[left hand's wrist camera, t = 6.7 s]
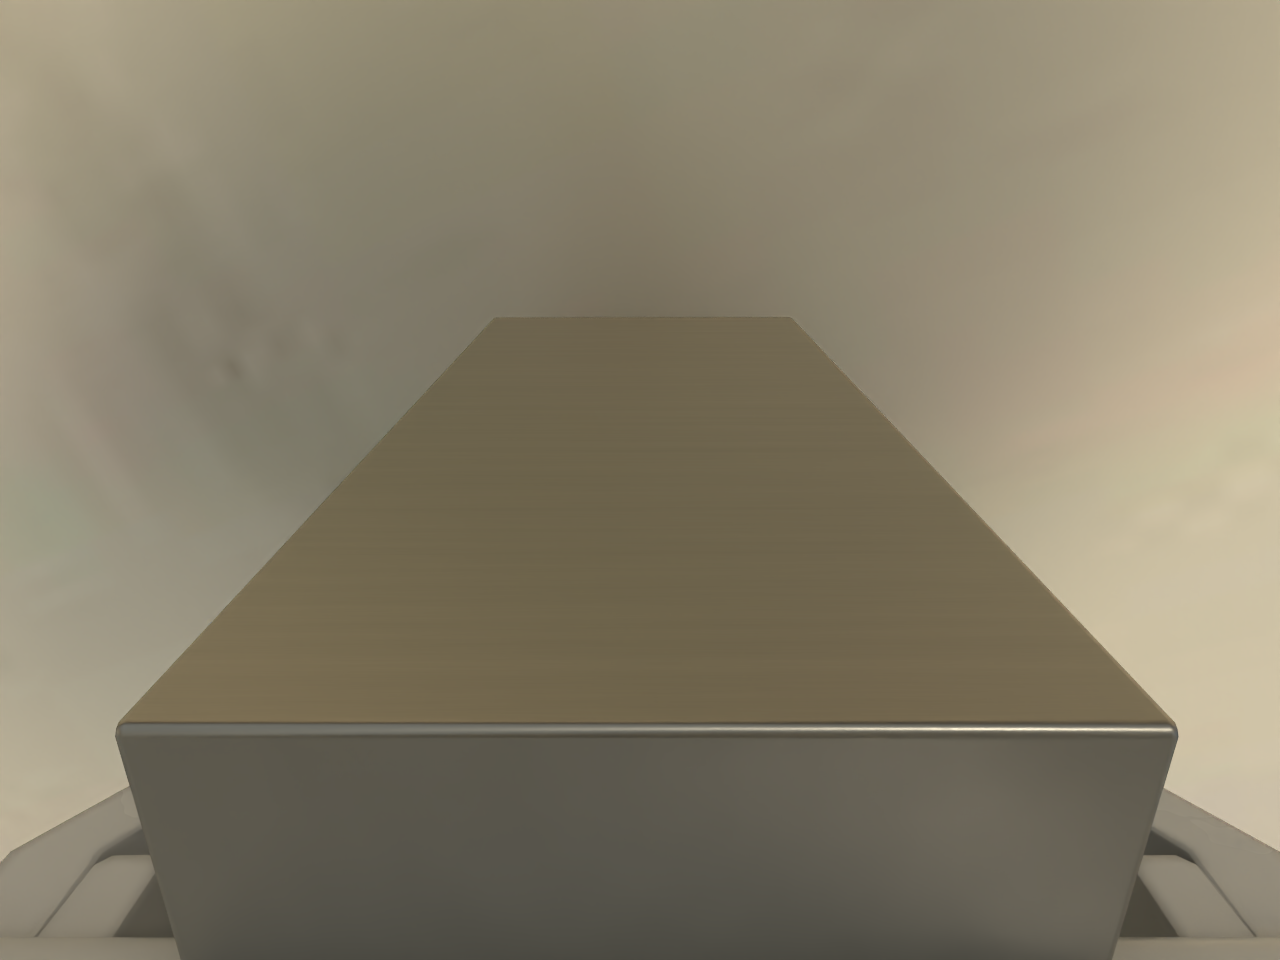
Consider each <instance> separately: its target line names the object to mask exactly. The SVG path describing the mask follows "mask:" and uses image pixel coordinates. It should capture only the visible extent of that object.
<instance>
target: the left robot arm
mask: <svg viewBox="0 0 1280 960" xmlns="http://www.w3.org/2000/svg"><path fill="white" fill-rule="evenodd" d="M0 960H181V959H180V956H179V952H178V949H177V945H176V942H175V939H174V935H173V932H172V928H171V925H170V921H169V918H168V915H167V911H166V908H165V904H164V901H163V898H162V894H161V891H160V887H159V884H158V881H157V877H156V874H155V870H154V867H153V863H152V860H151V857H150V853H149V850H148V846H147V843H146V840H145V836H144V833H143V829H142V826H141V822H140V819H139V816H138V812H137V809H136V805H135V802H134V799H133V795H132V792H131V788H130V786H129V787H127V788H125V789H123V790H121V791H119V792H118V793H116V794H114V795H112V796H110V797H109V798H107V799H105V800H103V801H101V802H100V803H98V804H96V805H94V806H92V807H91V808H89V809H87V810H85V811H83V812H81V813H80V814H78V815H76V816H74V817H72V818H71V819H69V820H67V821H65V822H63V823H62V824H60V825H58V826H56V827H54V828H53V829H51V830H49V831H47V832H45V833H44V834H42V835H40V836H38V837H36V838H34V839H33V840H31V841H29V842H27V843H25V844H24V845H22V846H20V847H18V848H16V849H15V850H13V851H11V852H10V853H9V854H8V855H7V856H6V857H5V859H4V860H3V861H2V862H1V863H0ZM1112 960H1280V852H1279V851H1277V850H1275V849H1274V848H1272V847H1270V846H1268V845H1266V844H1265V843H1263V842H1261V841H1259V840H1257V839H1255V838H1254V837H1252V836H1250V835H1248V834H1246V833H1245V832H1243V831H1241V830H1239V829H1237V828H1235V827H1234V826H1232V825H1230V824H1228V823H1226V822H1224V821H1223V820H1221V819H1219V818H1217V817H1215V816H1214V815H1212V814H1210V813H1208V812H1206V811H1204V810H1203V809H1201V808H1199V807H1197V806H1195V805H1194V804H1192V803H1190V802H1188V801H1186V800H1184V799H1183V798H1181V797H1179V796H1177V795H1175V794H1174V793H1172V792H1170V791H1168V790H1166V789H1164V788H1163V790H1162V794H1161V797H1160V800H1159V804H1158V807H1157V810H1156V814H1155V817H1154V820H1153V824H1152V827H1151V831H1150V834H1149V837H1148V841H1147V844H1146V847H1145V851H1144V854H1143V857H1142V861H1141V864H1140V867H1139V871H1138V874H1137V878H1136V881H1135V884H1134V888H1133V891H1132V894H1131V898H1130V901H1129V904H1128V908H1127V911H1126V914H1125V918H1124V921H1123V925H1122V928H1121V931H1120V935H1119V938H1118V941H1117V945H1116V948H1115V951H1114V955H1113V958H1112Z"/></svg>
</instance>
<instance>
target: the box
mask: <svg viewBox="0 0 1280 960" xmlns="http://www.w3.org/2000/svg"><path fill="white" fill-rule="evenodd" d="M115 737H116V741H117V744H118V747H119V751H120V754H121V758H122V761H123V764H124V768H125V771H126V775H127V778H128V782H129V785H130V788H131V792H132V795H133V799H134V802H135V805H136V809H137V812H138V816H139V819H140V822H141V826H142V829H143V833H144V836H145V840H146V843H147V846H148V850H149V853H150V857H151V860H152V863H153V867H154V870H155V874H156V877H157V881H158V884H159V887H160V891H161V894H162V898H163V901H164V904H165V908H166V911H167V915H168V918H169V921H170V925H171V928H172V932H173V935H174V939H175V942H176V945H177V949H178V952H179V956H180V959H181V960H1112V958H1113V955H1114V951H1115V948H1116V945H1117V941H1118V938H1119V935H1120V931H1121V928H1122V925H1123V921H1124V918H1125V914H1126V911H1127V908H1128V904H1129V901H1130V898H1131V894H1132V891H1133V888H1134V884H1135V881H1136V878H1137V874H1138V871H1139V867H1140V864H1141V861H1142V857H1143V854H1144V851H1145V847H1146V844H1147V841H1148V837H1149V834H1150V831H1151V827H1152V824H1153V820H1154V817H1155V814H1156V810H1157V807H1158V804H1159V800H1160V797H1161V794H1162V790H1163V787H1164V784H1165V780H1166V777H1167V773H1168V770H1169V767H1170V763H1171V760H1172V757H1173V753H1174V750H1175V747H1176V743H1177V740H1178V730H1177V727H1176V724H1175V722H1174V721H1173V720H1172V719H1171V718H1170V717H1169V716H1168V715H1167V714H1166V713H1165V712H1164V711H1163V710H1162V709H1161V708H1160V706H1159V705H1158V704H1157V703H1156V702H1155V701H1154V700H1153V699H1152V698H1151V697H1150V696H1149V695H1148V694H1147V693H1146V692H1145V691H1144V690H1143V689H1142V687H1141V686H1140V685H1139V684H1138V683H1137V682H1136V681H1135V680H1134V679H1133V678H1132V677H1131V676H1130V675H1129V674H1128V673H1127V672H1126V671H1125V669H1124V668H1123V667H1122V666H1121V665H1120V664H1119V663H1118V662H1117V661H1116V660H1115V659H1114V658H1113V657H1112V656H1111V655H1110V654H1109V653H1108V652H1107V650H1106V649H1105V648H1104V647H1103V646H1102V645H1101V644H1100V643H1099V642H1098V641H1097V640H1096V639H1095V638H1094V637H1093V636H1092V635H1091V634H1090V633H1089V631H1088V630H1087V629H1086V628H1085V627H1084V626H1083V625H1082V624H1081V623H1080V622H1079V621H1078V620H1077V619H1076V618H1075V617H1074V616H1073V615H1072V614H1071V612H1070V611H1069V610H1068V609H1067V608H1066V607H1065V606H1064V605H1063V604H1062V603H1061V602H1060V601H1059V600H1058V599H1057V598H1056V597H1055V596H1054V595H1053V593H1052V592H1051V591H1050V590H1049V589H1048V588H1047V587H1046V586H1045V585H1044V584H1043V583H1042V582H1041V581H1040V580H1039V579H1038V578H1037V577H1036V576H1035V574H1034V573H1033V572H1032V571H1031V570H1030V569H1029V568H1028V567H1027V566H1026V565H1025V564H1024V563H1023V562H1022V561H1021V560H1020V559H1019V558H1018V557H1017V555H1016V554H1015V553H1014V552H1013V551H1012V550H1011V549H1010V548H1009V547H1008V546H1007V545H1006V544H1005V543H1004V542H1003V541H1002V540H1001V539H1000V538H999V536H998V535H997V534H996V533H995V532H994V531H993V530H992V529H991V528H990V527H989V526H988V525H987V524H986V523H985V522H984V521H983V520H982V519H981V517H980V516H979V515H978V514H977V513H976V512H975V511H974V510H973V509H972V508H971V507H970V506H969V505H968V504H967V503H966V502H965V501H964V500H963V498H962V497H961V496H960V495H959V494H958V493H957V492H956V491H955V490H954V489H953V488H952V487H951V486H950V485H949V484H948V483H947V482H946V481H945V479H944V478H943V477H942V476H941V475H940V474H939V473H938V472H937V471H936V470H935V469H934V468H933V467H932V466H931V465H930V464H929V463H928V462H927V460H926V459H925V458H924V457H923V456H922V455H921V454H920V453H919V452H918V451H917V450H916V449H915V448H914V447H913V446H912V445H911V444H910V443H909V441H908V440H907V439H906V438H905V437H904V436H903V435H902V434H901V433H900V432H899V431H898V430H897V429H896V428H895V427H894V426H893V425H892V424H891V422H890V421H889V420H888V419H887V418H886V417H885V416H884V415H883V414H882V413H881V412H880V411H879V410H878V409H877V408H876V407H875V406H874V405H873V403H872V402H871V401H870V400H869V399H868V398H867V397H866V396H865V395H864V394H863V393H862V392H861V391H860V390H859V389H858V388H857V387H856V386H855V384H854V383H853V382H852V381H851V380H850V379H849V378H848V377H847V376H846V375H845V374H844V373H843V372H842V371H841V370H840V369H839V368H838V367H837V365H836V364H835V363H834V362H833V361H832V360H831V359H830V358H829V357H828V356H827V355H826V354H825V353H824V352H823V351H822V350H821V349H820V348H819V346H818V345H817V344H816V343H815V342H814V341H813V340H812V339H811V338H810V337H809V336H808V335H807V334H806V333H805V332H804V331H803V330H802V329H801V327H800V326H799V325H798V324H797V323H796V322H795V321H794V320H793V319H792V318H790V317H595V318H494V319H493V320H492V321H491V322H490V323H489V325H488V326H487V327H486V328H485V329H484V330H483V331H482V332H481V333H480V334H479V335H478V336H477V337H476V339H475V340H474V341H473V342H472V343H471V344H470V345H469V346H468V347H467V348H466V349H465V350H464V351H463V353H462V354H461V355H460V356H459V357H458V358H457V359H456V360H455V361H454V362H453V363H452V364H451V365H450V367H449V368H448V369H447V370H446V371H445V372H444V373H443V374H442V375H441V376H440V377H439V378H438V379H437V380H436V382H435V383H434V384H433V385H432V386H431V387H430V388H429V389H428V390H427V391H426V392H425V393H424V394H423V396H422V397H421V398H420V399H419V400H418V401H417V402H416V403H415V404H414V405H413V406H412V407H411V408H410V410H409V411H408V412H407V413H406V414H405V415H404V416H403V417H402V418H401V419H400V420H399V421H398V422H397V424H396V425H395V426H394V427H393V428H392V429H391V430H390V431H389V432H388V433H387V434H386V435H385V436H384V438H383V439H382V440H381V441H380V442H379V443H378V444H377V445H376V446H375V447H374V448H373V449H372V450H371V451H370V453H369V454H368V455H367V456H366V457H365V458H364V459H363V460H362V461H361V462H360V463H359V464H358V465H357V467H356V468H355V469H354V470H353V471H352V472H351V473H350V474H349V475H348V476H347V477H346V478H345V479H344V481H343V482H342V483H341V484H340V485H339V486H338V487H337V488H336V489H335V490H334V491H333V492H332V493H331V495H330V496H329V497H328V498H327V499H326V500H325V501H324V502H323V503H322V504H321V505H320V506H319V507H318V509H317V510H316V511H315V512H314V513H313V514H312V515H311V516H310V517H309V518H308V519H307V520H306V521H305V523H304V524H303V525H302V526H301V527H300V528H299V529H298V530H297V531H296V532H295V533H294V534H293V535H292V536H291V538H290V539H289V540H288V541H287V542H286V543H285V544H284V545H283V546H282V547H281V548H280V549H279V550H278V552H277V553H276V554H275V555H274V556H273V557H272V558H271V559H270V560H269V561H268V562H267V563H266V564H265V566H264V567H263V568H262V569H261V570H260V571H259V572H258V573H257V574H256V575H255V576H254V577H253V578H252V580H251V581H250V582H249V583H248V584H247V585H246V586H245V587H244V588H243V589H242V590H241V591H240V592H239V594H238V595H237V596H236V597H235V598H234V599H233V600H232V601H231V602H230V603H229V604H228V605H227V606H226V607H225V609H224V610H223V611H222V612H221V613H220V614H219V615H218V616H217V617H216V618H215V619H214V620H213V621H212V623H211V624H210V625H209V626H208V627H207V628H206V629H205V630H204V631H203V632H202V633H201V634H200V635H199V637H198V638H197V639H196V640H195V641H194V642H193V643H192V644H191V645H190V646H189V647H188V648H187V649H186V651H185V652H184V653H183V654H182V655H181V656H180V657H179V658H178V659H177V660H176V661H175V662H174V663H173V665H172V666H171V667H170V668H169V669H168V670H167V671H166V672H165V673H164V674H163V675H162V676H161V677H160V679H159V680H158V681H157V682H156V683H155V684H154V685H153V686H152V687H151V688H150V689H149V690H148V691H147V692H146V694H145V695H144V696H143V697H142V698H141V699H140V700H139V701H138V702H137V703H136V704H135V705H134V706H133V708H132V709H131V710H130V711H129V712H128V713H127V714H126V715H125V716H124V717H123V718H122V719H121V720H120V722H119V723H118V726H117V728H116V735H115Z"/></svg>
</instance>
